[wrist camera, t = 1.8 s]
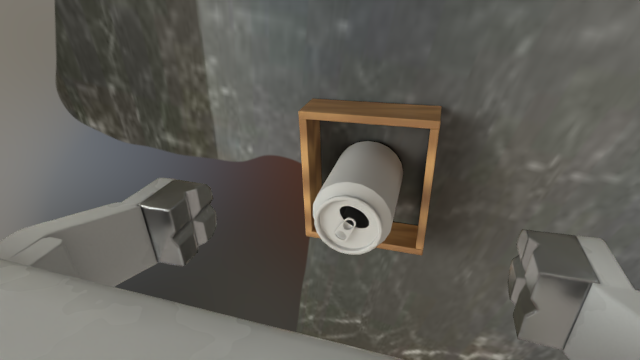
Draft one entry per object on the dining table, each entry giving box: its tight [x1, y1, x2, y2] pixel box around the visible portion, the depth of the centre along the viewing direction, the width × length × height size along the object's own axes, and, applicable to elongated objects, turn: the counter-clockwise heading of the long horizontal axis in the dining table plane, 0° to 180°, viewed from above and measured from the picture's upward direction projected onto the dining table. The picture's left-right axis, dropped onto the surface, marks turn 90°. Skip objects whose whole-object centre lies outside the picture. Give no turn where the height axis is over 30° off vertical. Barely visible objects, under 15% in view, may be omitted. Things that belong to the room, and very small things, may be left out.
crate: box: [299, 99, 441, 255], centre depth 40 cm, size 16×14×4 cm
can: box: [313, 141, 403, 255], centre depth 37 cm, size 8×8×12 cm
